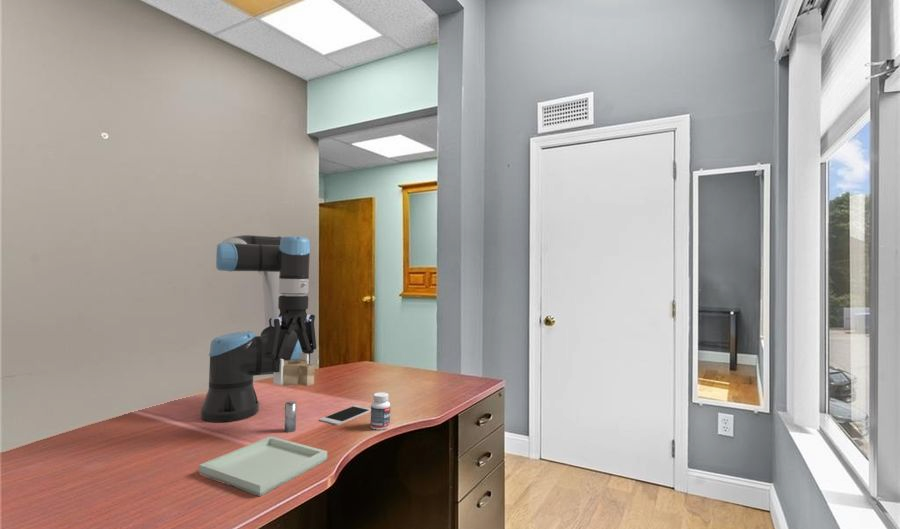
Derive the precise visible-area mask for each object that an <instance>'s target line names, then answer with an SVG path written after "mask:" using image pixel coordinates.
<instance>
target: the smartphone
mask: <svg viewBox="0 0 900 529" xmlns="http://www.w3.org/2000/svg"><path fill="white" fill-rule="evenodd" d="M370 411H371V407H367V406H361V405H359V404H358V405H357V404H354V405H352V406H349V407H347V408H343V409H342V410H340V411H337V412H334V413H332V414H329V415H326V416H324V417H321V418H319V422H323V423H327V424H331V425H334V426H340V425H343V424H344V423H347V422H349V421H352V420H353V419H357V418H359V417H361V416H363V415H366V414H367V413H371V412H370Z"/></svg>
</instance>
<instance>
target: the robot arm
mask: <svg viewBox="0 0 900 529" xmlns="http://www.w3.org/2000/svg"><path fill="white" fill-rule="evenodd" d="M215 252H216V259H215V260H216V261H215V263H216V264H215V267H216V269H217V270H218V271H221V272H222V271H224V272H257V273H258V274H259V276H261V277H262V278H261V280H262V292H263V293H262V294H263V307H264V308H263V312H264V325H265V326H264V328H263V329H262V330H261V332H260V335H257V336H256V334H255V332H254V331H250V330H248V331H238V332H229V333H226V334H222V335H219V336H216V337H214V338H213V339H212V340H211V341H210V342H211V343H210V347H209V354H208V356H209V367H208V368H209V372H208V373H209V375H208V389H207V392H206V394H205V399H204V401H203V404H202V406H201V410H200V419H202V420H204V421H207V422H213V423H215V422H216V423H224V422H234V421H238V420H243V419H244V420H245V419H246V418H251V417H253V416H254V415H256V414H257V413H258V412H259V411H260V408H259V407H260V406H259V400H258V396H257V393H256V391H255V387H254V376H267V375H273V382H272V384H273V385H278V386H282V385H283V371H284V360H296V359H299V360H306V361H308V364H310V363H311V354H313V353H314V351H315V350H316V349H317V340H316V329H315V320H316V315H315V314H311V313H310V314H308V313H307V310H308V308H309V296H308V295H307V294H308V293H309V290H310V289H309V287H310V286H309V284H310V283H309V282H310V281H309V279H310V277H309V276H310V256H311V254H310V253H311V246H310V240H309V238H308V237H304V236H280V235H279V236H263V235H251V234H250V235H246V234H245V235H244V234H243V235H242V234H241V235H236V236H231V237H229V238H226V239H225V240H223V241H222V242H220V243H218V244H216V251H215Z"/></svg>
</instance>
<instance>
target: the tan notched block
mask: <svg viewBox="0 0 900 529" xmlns="http://www.w3.org/2000/svg"><path fill="white" fill-rule="evenodd" d="M314 384H315V364H308V361H306V360H299V359H296V360H284V371H283V385H281V386H282V387H287V386H299V385H300V386H304V387H309V386H312V385H314Z"/></svg>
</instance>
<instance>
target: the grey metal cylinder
mask: <svg viewBox="0 0 900 529" xmlns="http://www.w3.org/2000/svg"><path fill="white" fill-rule="evenodd" d="M283 430H284V432H285V433H292V432H296V430H297V402H296V401H287V402H286V401H285V404H284V429H283Z"/></svg>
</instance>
